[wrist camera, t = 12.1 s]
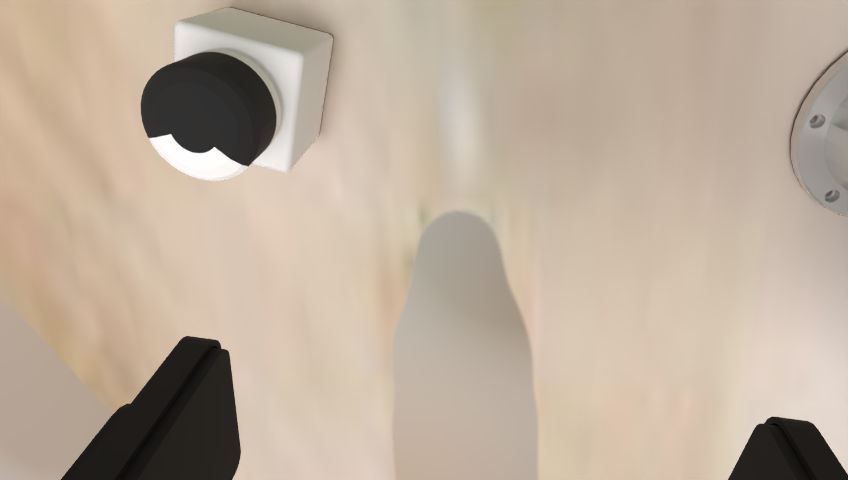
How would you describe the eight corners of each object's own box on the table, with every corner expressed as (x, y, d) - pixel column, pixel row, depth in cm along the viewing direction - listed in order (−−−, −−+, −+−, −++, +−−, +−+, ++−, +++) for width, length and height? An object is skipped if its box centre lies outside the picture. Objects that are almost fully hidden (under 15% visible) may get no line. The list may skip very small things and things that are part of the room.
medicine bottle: (226, 5, 36) (118, 34, 25) (335, 34, 36) (272, 74, 25) (220, 111, 39) (123, 176, 29) (319, 137, 39) (259, 211, 29)
